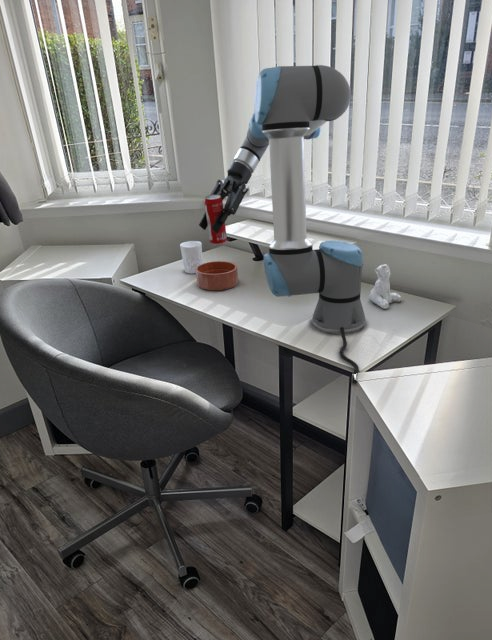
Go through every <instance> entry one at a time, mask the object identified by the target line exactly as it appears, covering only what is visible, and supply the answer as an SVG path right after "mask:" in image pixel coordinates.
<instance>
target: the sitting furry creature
mask: <svg viewBox="0 0 492 640" xmlns="http://www.w3.org/2000/svg"><path fill="white" fill-rule="evenodd" d="M373 270H374V272H375V273H376V276H377V279H376V280H375V284H374V286H373V288H372V289H370V292H369V294H370V296H369V297H370V300H371V302H372V303H373V304H375V305H377V306H378V307H379V308H381V309H383V310H388V308H389V307H390V305H391V304H392V303H394V302H395V303H401V299H402V295H400V294H398V293H397V292H391V283H390V276H391V274H392V273H391V269H390V266H389V265H388V264H386V263H383V264H381V265H378V266H377V267H375V268H374V269H373Z"/></svg>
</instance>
